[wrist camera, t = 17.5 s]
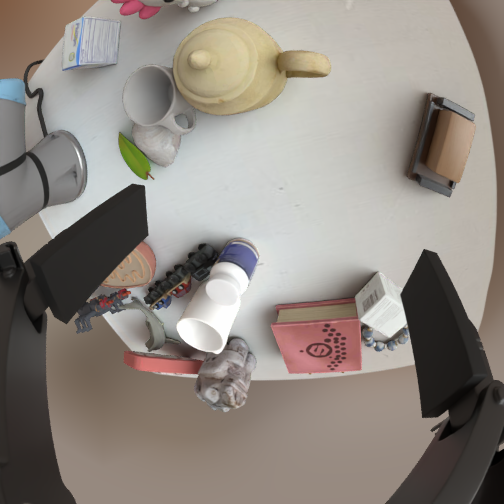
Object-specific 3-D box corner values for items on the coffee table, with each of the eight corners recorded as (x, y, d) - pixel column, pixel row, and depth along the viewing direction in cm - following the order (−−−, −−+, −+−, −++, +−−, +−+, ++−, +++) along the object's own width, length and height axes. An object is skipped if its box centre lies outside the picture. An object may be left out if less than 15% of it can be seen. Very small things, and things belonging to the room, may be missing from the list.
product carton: (353, 295, 42) (383, 314, 43) (357, 320, 37) (389, 339, 37) (378, 269, 39) (407, 291, 39) (386, 293, 34) (417, 315, 34)
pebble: (195, 119, 33) (177, 124, 29) (179, 169, 38) (161, 180, 34) (146, 102, 33) (125, 106, 29) (134, 150, 38) (114, 159, 34)
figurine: (267, 360, 57) (250, 418, 45) (228, 365, 62) (207, 417, 50) (243, 331, 54) (220, 393, 41) (203, 339, 59) (177, 393, 47)
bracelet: (417, 333, 43) (418, 341, 42) (374, 351, 48) (374, 359, 47) (400, 303, 41) (402, 311, 39) (353, 324, 46) (353, 333, 44)
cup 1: (190, 56, 28) (154, 51, 21) (228, 112, 32) (199, 119, 25) (152, 87, 32) (112, 92, 25) (185, 140, 36) (151, 155, 29)
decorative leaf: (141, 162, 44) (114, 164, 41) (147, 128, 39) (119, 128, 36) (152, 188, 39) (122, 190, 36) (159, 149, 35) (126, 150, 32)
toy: (101, 316, 68) (76, 258, 66) (153, 300, 55) (120, 222, 54) (66, 336, 56) (39, 272, 55) (107, 326, 44) (69, 235, 42)
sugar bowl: (292, 8, 22) (268, -44, 10) (332, 79, 27) (341, 65, 14) (191, 58, 29) (118, 49, 16) (227, 124, 33) (169, 146, 21)
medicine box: (102, 26, 26) (64, 24, 19) (122, 20, 26) (83, 15, 19) (99, 67, 31) (60, 71, 24) (118, 63, 30) (78, 65, 23)
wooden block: (447, 175, 27) (463, 120, 23) (459, 185, 24) (477, 124, 20) (423, 164, 28) (438, 108, 23) (434, 173, 25) (451, 110, 20)
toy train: (207, 236, 43) (230, 255, 45) (144, 290, 55) (162, 303, 57) (201, 252, 41) (226, 271, 43) (137, 304, 52) (157, 317, 54)
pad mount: (447, 192, 29) (455, 200, 27) (406, 176, 30) (412, 183, 28) (470, 114, 23) (481, 117, 20) (428, 92, 24) (436, 93, 21)
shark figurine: (130, 329, 66) (116, 348, 60) (132, 290, 56) (113, 312, 50) (176, 354, 66) (164, 376, 60) (187, 321, 57) (173, 346, 51)
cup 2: (234, 276, 47) (213, 318, 38) (251, 325, 52) (236, 366, 44) (193, 278, 49) (168, 316, 41) (214, 324, 55) (195, 362, 47)
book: (293, 356, 54) (289, 375, 50) (276, 305, 47) (270, 325, 43) (361, 352, 49) (361, 372, 45) (358, 297, 42) (359, 319, 38)
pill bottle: (224, 235, 42) (199, 272, 34) (260, 239, 41) (242, 279, 33) (226, 265, 46) (204, 305, 38) (260, 269, 44) (243, 312, 36)
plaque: (119, 362, 57) (135, 372, 46) (119, 347, 58) (136, 354, 48) (181, 368, 68) (210, 376, 57) (182, 354, 69) (211, 360, 58)
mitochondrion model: (154, 227, 45) (138, 241, 41) (173, 273, 50) (160, 290, 46) (80, 237, 52) (66, 249, 48) (98, 274, 57) (86, 286, 53)
